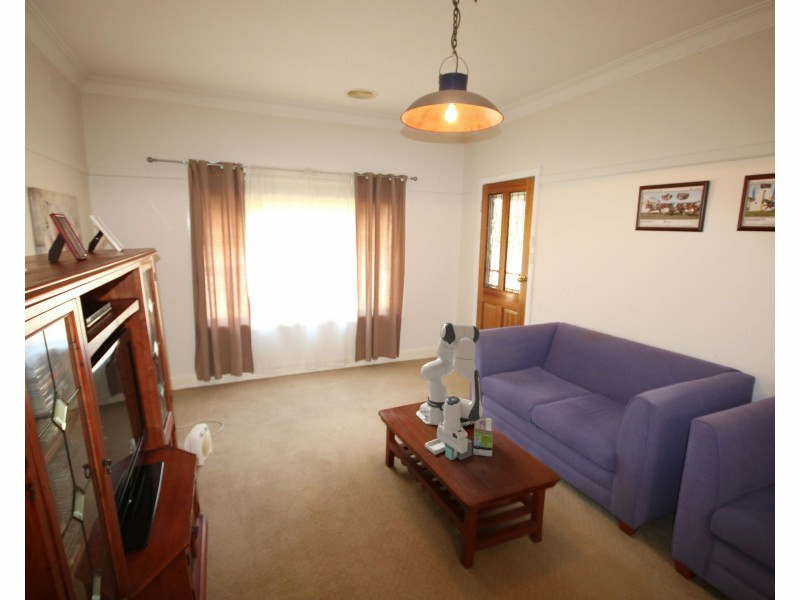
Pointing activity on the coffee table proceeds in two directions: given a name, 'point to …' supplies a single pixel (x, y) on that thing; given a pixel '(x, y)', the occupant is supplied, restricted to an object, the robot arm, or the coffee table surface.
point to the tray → (435, 446)
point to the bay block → (468, 452)
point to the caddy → (450, 452)
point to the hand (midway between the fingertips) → (451, 452)
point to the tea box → (483, 436)
